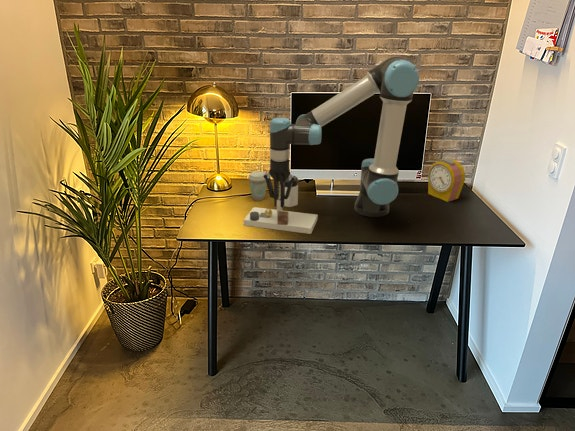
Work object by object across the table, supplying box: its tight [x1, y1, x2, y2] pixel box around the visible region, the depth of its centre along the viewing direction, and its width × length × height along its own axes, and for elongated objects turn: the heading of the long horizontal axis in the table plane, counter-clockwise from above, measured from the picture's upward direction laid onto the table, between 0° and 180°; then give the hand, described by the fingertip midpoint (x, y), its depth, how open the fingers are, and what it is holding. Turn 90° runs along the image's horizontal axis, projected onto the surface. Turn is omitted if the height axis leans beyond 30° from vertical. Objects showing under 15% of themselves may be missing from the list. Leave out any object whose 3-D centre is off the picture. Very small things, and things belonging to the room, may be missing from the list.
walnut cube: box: [277, 210, 288, 225], centre depth 182 cm, size 4×4×4 cm
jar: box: [283, 176, 299, 208], centre depth 204 cm, size 9×8×12 cm
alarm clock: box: [427, 158, 466, 203], centre depth 212 cm, size 15×8×18 cm, turn 33°
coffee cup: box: [248, 170, 267, 201], centre depth 209 cm, size 8×8×12 cm
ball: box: [265, 208, 272, 217], centre depth 188 cm, size 3×3×3 cm
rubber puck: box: [249, 212, 259, 221], centre depth 185 cm, size 4×4×2 cm
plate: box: [243, 206, 319, 235], centre depth 188 cm, size 28×13×2 cm, turn 75°
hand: (279, 213), depth 187 cm, fingers closed
